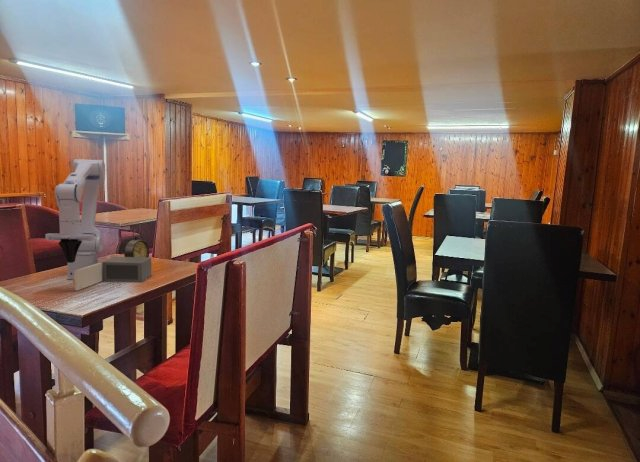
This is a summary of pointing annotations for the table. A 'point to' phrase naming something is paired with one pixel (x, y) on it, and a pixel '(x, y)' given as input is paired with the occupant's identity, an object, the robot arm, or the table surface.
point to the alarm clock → (136, 248)
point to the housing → (126, 269)
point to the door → (88, 276)
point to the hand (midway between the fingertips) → (71, 262)
